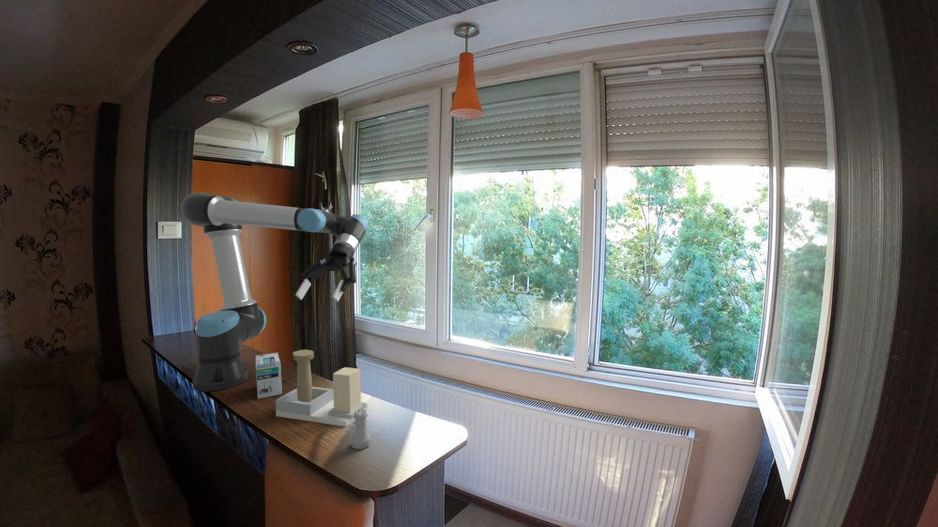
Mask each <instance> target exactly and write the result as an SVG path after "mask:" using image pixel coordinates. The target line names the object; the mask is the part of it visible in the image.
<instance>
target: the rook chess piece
mask: <svg viewBox="0 0 938 527" xmlns="http://www.w3.org/2000/svg"><path fill="white" fill-rule="evenodd" d="M367 417H368V413H367V410H364V409H362V411H360V409H359V410H358V412H357V411H355V414H354V416H353V418H354V419H355V420H354V421H353V422H354V423H353V424H354V426H355V427H354V428H355V430H354V433H353V436H352V437H351V444H350V446H351V447H352V448H353V449H354V450H364V449H366V448H367V447H369V446H370V444H371V443H372V441H371V435H370V433H369V432H368V429H367V422H368V420H367V419H366V418H367Z"/></svg>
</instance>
